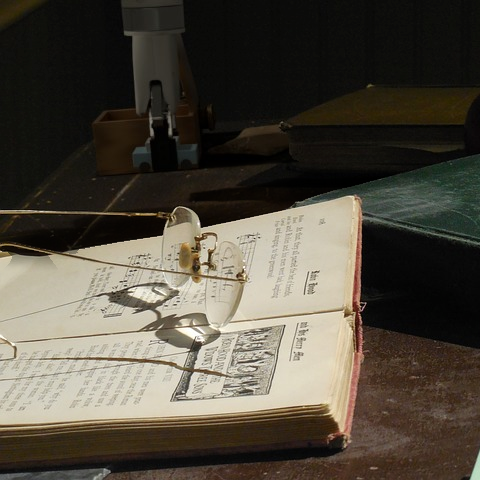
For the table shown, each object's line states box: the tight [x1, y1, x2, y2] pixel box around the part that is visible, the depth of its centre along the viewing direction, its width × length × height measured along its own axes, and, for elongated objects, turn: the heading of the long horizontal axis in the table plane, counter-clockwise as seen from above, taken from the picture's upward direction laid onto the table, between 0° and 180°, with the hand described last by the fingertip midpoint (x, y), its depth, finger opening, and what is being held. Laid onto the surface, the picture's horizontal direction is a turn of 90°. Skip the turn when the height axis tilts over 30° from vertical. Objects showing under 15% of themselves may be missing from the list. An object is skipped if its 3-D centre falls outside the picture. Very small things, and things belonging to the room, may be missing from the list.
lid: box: [176, 33, 200, 113], centre depth 141 cm, size 16×12×1 cm
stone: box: [206, 124, 290, 157], centre depth 149 cm, size 11×16×3 cm
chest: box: [91, 105, 203, 177], centre depth 144 cm, size 15×12×8 cm
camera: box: [179, 91, 217, 151], centre depth 158 cm, size 16×7×8 cm, turn 1°
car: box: [133, 136, 199, 174], centre depth 122 cm, size 8×5×4 cm, turn 94°
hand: (167, 164), depth 123 cm, fingers closed on car, 4 cm apart
